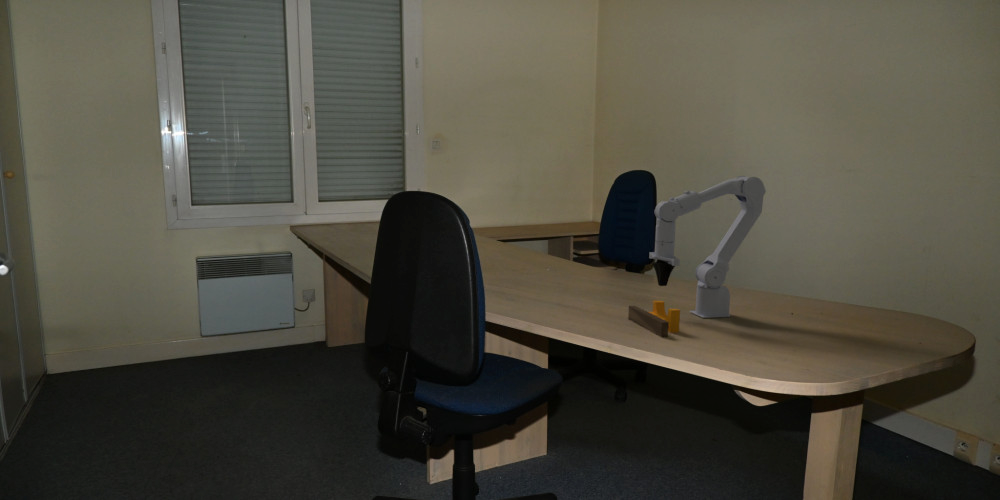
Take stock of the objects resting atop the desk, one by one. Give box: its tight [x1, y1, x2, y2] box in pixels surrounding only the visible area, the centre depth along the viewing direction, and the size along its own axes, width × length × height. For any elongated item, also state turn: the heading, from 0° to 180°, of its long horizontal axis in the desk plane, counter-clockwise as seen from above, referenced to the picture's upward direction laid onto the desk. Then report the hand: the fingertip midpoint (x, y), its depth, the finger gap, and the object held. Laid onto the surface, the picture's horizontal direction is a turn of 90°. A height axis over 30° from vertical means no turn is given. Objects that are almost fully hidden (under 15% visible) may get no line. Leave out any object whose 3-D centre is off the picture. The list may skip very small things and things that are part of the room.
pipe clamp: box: [648, 300, 681, 334], centre depth 189 cm, size 12×4×6 cm, turn 11°
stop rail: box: [627, 305, 669, 338], centre depth 188 cm, size 2×20×4 cm, turn 14°
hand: (662, 285), depth 203 cm, fingers closed
